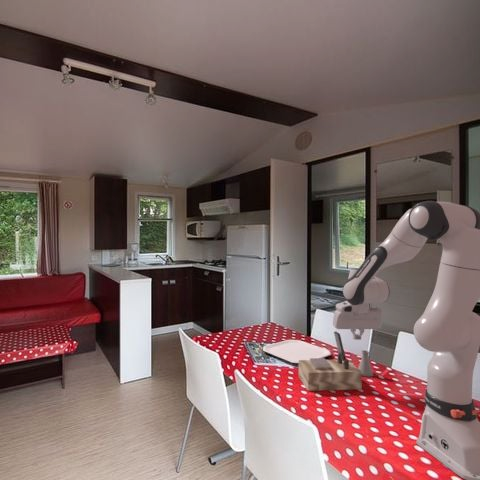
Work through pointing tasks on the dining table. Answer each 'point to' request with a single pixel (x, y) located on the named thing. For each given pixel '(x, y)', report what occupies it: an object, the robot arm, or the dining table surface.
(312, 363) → the steel pin
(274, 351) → the plate
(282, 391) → the dining table surface
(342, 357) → the latch bar
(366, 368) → the flask
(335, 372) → the socket block
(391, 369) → the dining table surface
